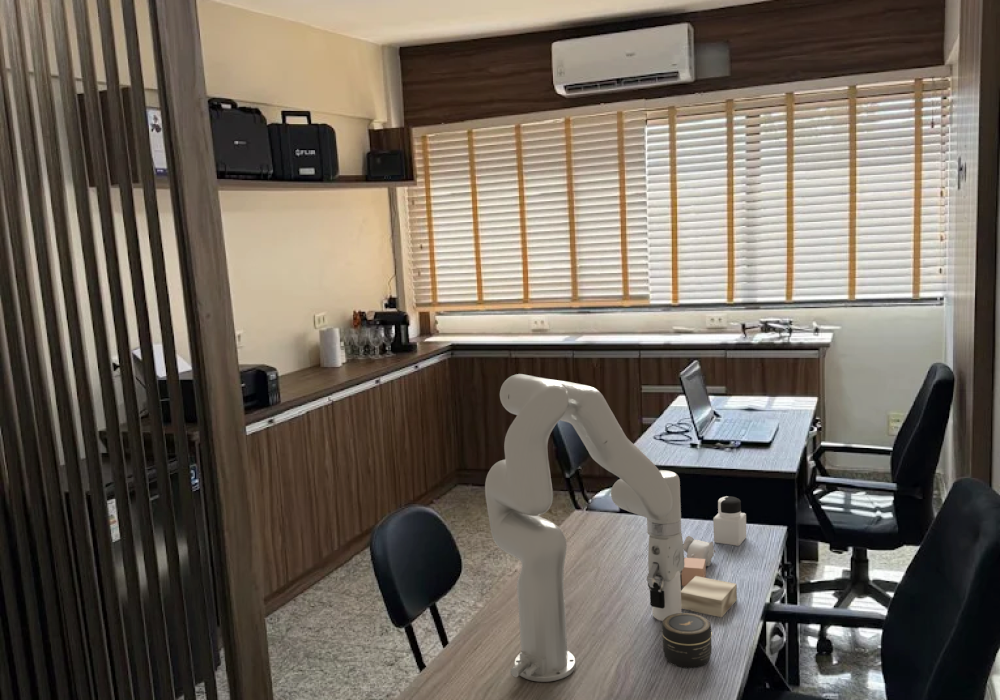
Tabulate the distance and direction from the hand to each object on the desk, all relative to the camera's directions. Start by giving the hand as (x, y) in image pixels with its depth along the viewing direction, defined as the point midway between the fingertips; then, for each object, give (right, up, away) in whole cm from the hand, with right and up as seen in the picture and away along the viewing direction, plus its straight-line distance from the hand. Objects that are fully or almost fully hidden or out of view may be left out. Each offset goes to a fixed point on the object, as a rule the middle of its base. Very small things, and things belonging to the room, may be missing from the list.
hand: (666, 598), depth 193 cm
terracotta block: (+10, -1, +18) cm, 21 cm away
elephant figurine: (+14, 0, +28) cm, 32 cm away
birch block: (+11, -3, +5) cm, 12 cm away
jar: (+1, -7, -18) cm, 19 cm away
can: (0, -5, +1) cm, 4 cm away
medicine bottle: (+26, +3, +43) cm, 50 cm away
